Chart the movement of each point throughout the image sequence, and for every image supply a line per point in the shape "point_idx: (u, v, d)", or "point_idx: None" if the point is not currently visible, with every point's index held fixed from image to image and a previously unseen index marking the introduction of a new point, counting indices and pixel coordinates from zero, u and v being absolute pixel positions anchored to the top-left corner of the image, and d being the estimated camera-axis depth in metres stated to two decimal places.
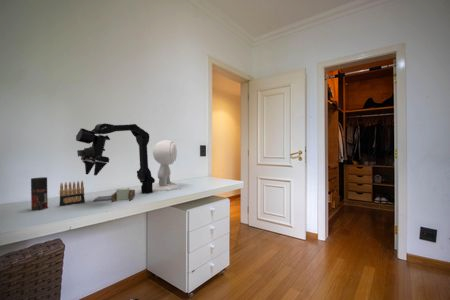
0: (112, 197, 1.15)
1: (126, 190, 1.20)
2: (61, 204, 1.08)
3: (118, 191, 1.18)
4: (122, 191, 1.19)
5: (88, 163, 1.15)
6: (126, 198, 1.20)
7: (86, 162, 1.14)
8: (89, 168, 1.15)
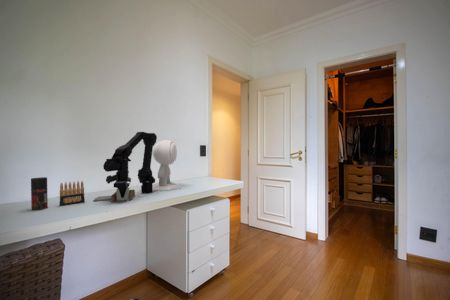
0: (112, 197, 1.15)
1: (126, 190, 1.20)
2: (61, 204, 1.08)
3: (118, 191, 1.18)
4: None
5: None
6: (126, 198, 1.20)
7: None
8: None
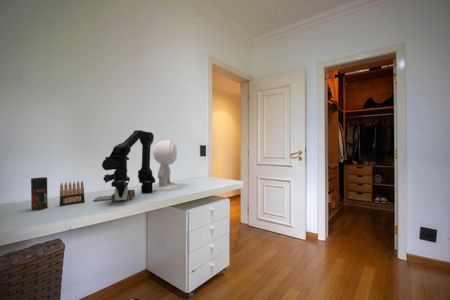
0: (112, 197, 1.15)
1: None
2: (61, 204, 1.08)
3: (116, 190, 1.14)
4: None
5: None
6: (124, 198, 1.16)
7: None
8: None
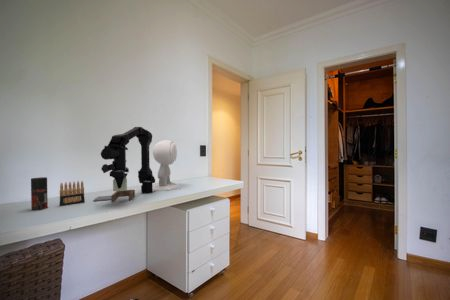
0: (112, 197, 1.15)
1: (123, 180, 1.12)
2: (61, 204, 1.08)
3: (115, 181, 1.11)
4: None
5: None
6: (123, 189, 1.12)
7: None
8: None
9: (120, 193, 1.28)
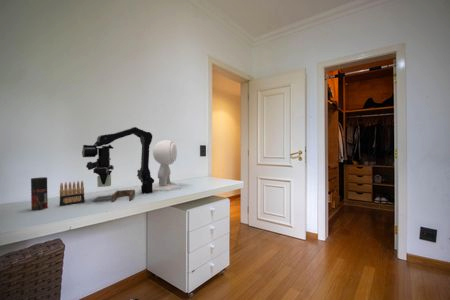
0: (112, 197, 1.15)
1: (107, 176, 1.21)
2: (61, 204, 1.08)
3: (99, 177, 1.19)
4: None
5: None
6: (107, 184, 1.21)
7: None
8: None
9: (120, 193, 1.28)
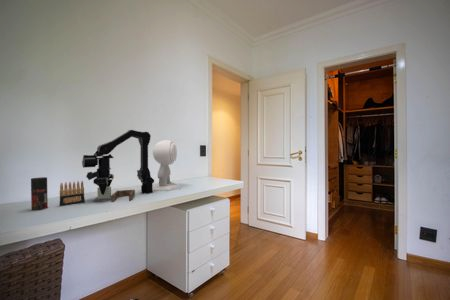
0: (112, 197, 1.15)
1: (107, 188, 1.21)
2: (61, 204, 1.08)
3: (99, 189, 1.19)
4: None
5: None
6: (107, 196, 1.21)
7: None
8: (107, 186, 1.26)
9: (120, 193, 1.28)
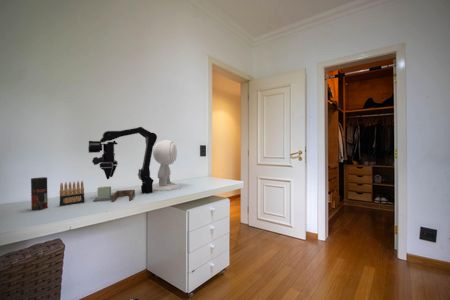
0: (112, 197, 1.15)
1: (107, 188, 1.21)
2: (61, 204, 1.08)
3: (99, 189, 1.19)
4: (103, 189, 1.20)
5: None
6: (107, 196, 1.21)
7: None
8: (112, 171, 1.32)
9: (120, 193, 1.28)
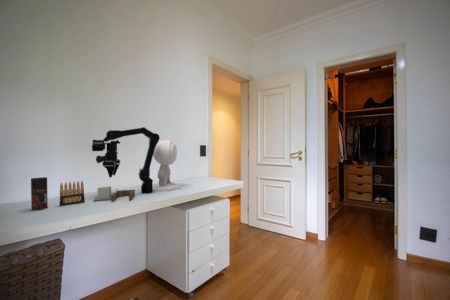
0: (112, 197, 1.15)
1: (107, 188, 1.21)
2: (61, 204, 1.08)
3: (99, 189, 1.19)
4: (103, 189, 1.20)
5: None
6: (107, 196, 1.21)
7: None
8: (114, 170, 1.35)
9: (120, 193, 1.28)
